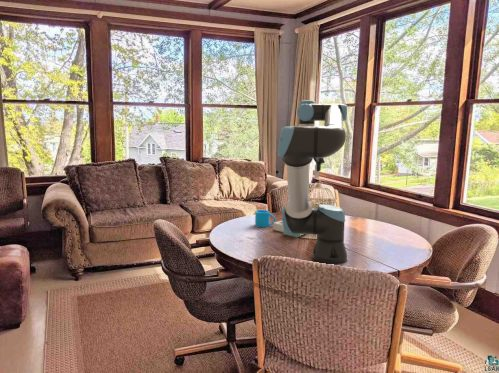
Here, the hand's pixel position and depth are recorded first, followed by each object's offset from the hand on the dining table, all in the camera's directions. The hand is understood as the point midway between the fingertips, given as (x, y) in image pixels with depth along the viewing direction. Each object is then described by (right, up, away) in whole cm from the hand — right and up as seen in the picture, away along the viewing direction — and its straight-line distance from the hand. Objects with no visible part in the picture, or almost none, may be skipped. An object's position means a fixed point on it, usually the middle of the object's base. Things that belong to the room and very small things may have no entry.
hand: (305, 176), depth 202 cm
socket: (-3, -30, +17) cm, 35 cm away
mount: (-9, -29, +25) cm, 39 cm away
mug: (-18, -28, +34) cm, 48 cm away
